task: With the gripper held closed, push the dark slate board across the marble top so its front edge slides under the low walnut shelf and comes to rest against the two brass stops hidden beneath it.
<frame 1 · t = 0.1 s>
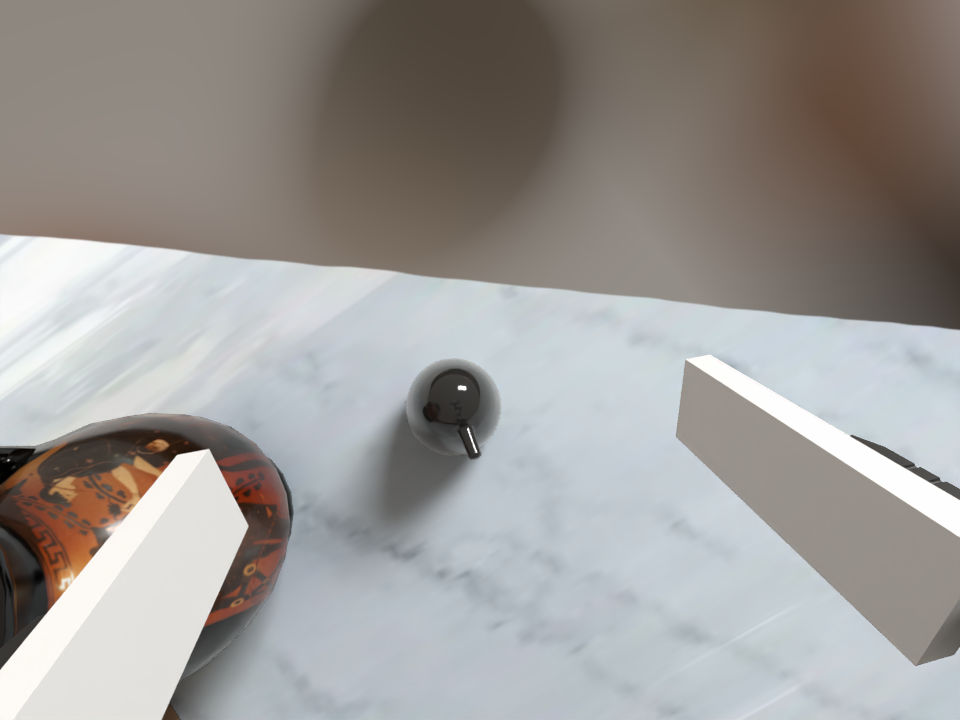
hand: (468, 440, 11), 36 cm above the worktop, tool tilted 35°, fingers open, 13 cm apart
amphora vase: (220, 518, 43), on the worktop
pump dispenser: (453, 410, 47), on the worktop
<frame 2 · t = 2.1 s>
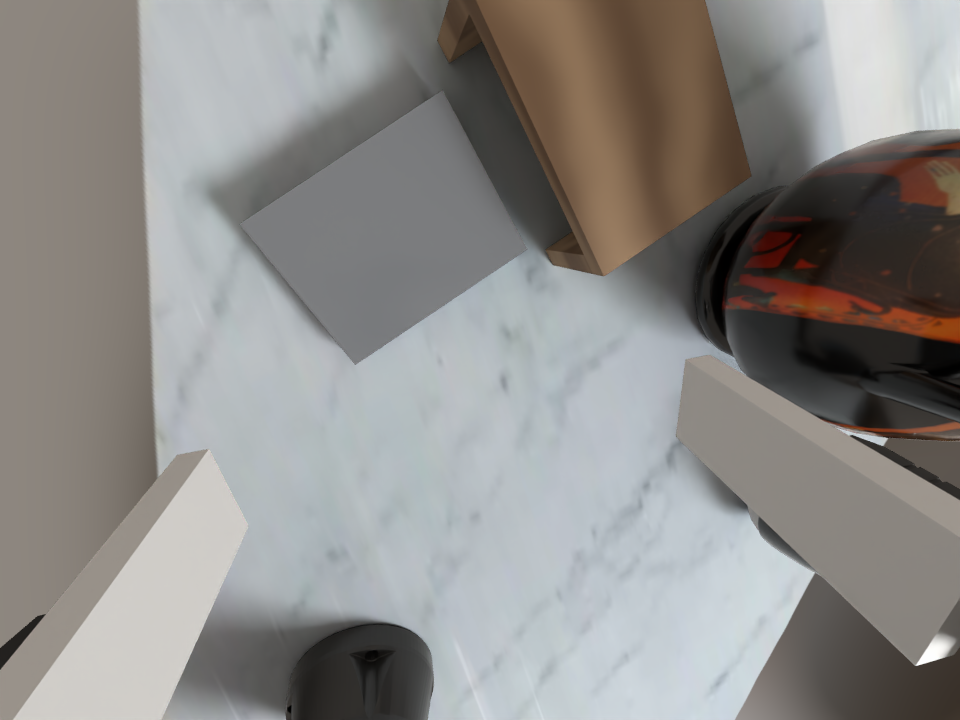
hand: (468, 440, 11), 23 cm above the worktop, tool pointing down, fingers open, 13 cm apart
amphora vase: (757, 276, 40), on the worktop
pump dispenser: (765, 488, 50), on the worktop
slate board: (394, 237, 31), on the worktop
walnut shelf: (565, 122, 31), on the worktop
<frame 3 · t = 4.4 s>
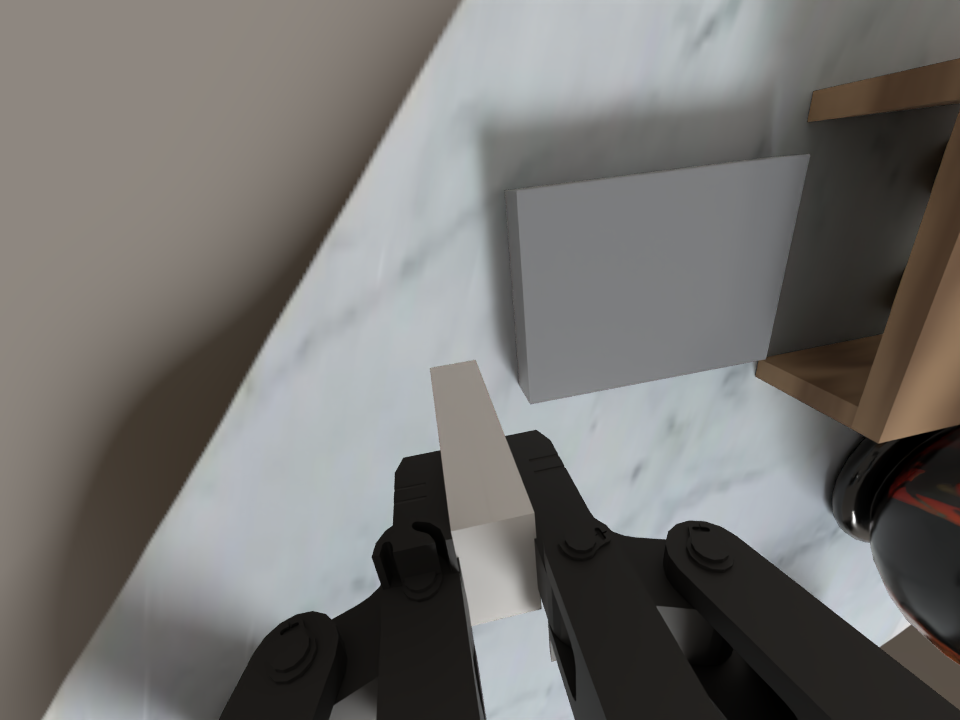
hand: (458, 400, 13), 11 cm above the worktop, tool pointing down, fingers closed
amphora vase: (899, 461, 37), on the worktop
slate board: (632, 276, 25), on the worktop
walnut shelf: (859, 241, 26), on the worktop
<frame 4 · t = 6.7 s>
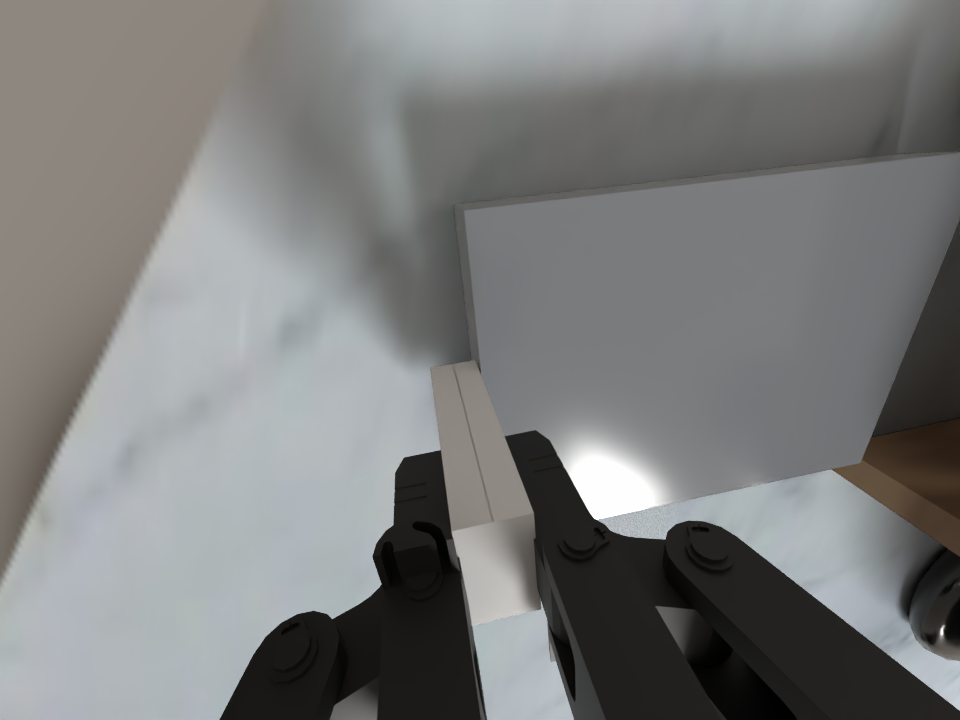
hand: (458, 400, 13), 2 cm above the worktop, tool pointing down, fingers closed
slate board: (662, 337, 16), on the worktop, touching gripper
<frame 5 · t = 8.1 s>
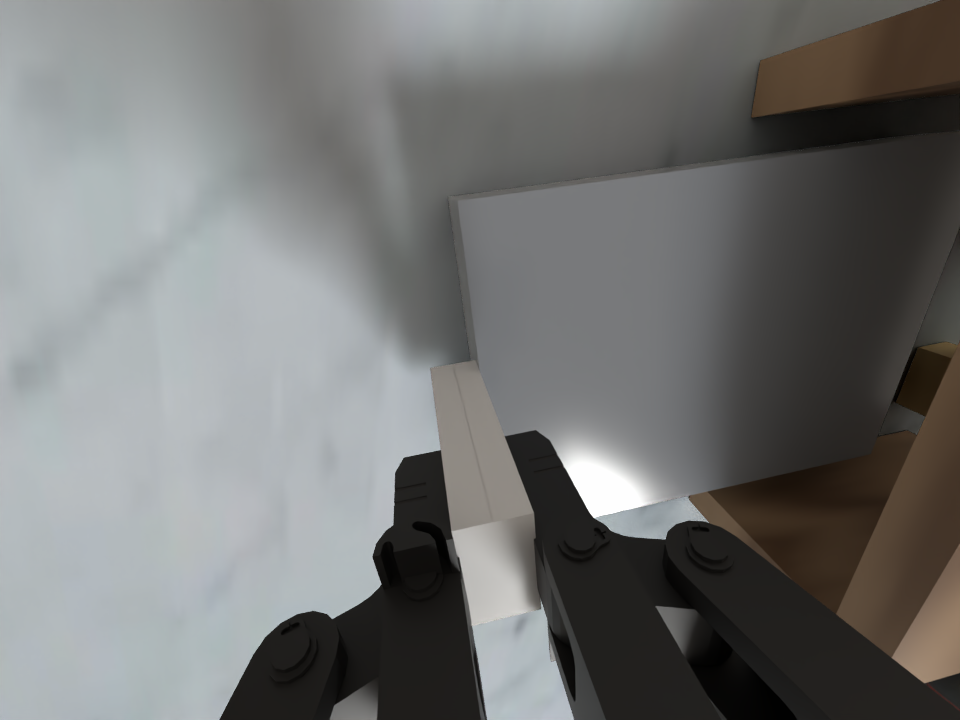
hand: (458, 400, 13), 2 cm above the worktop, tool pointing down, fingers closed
amphora vase: (903, 582, 28), on the worktop
slate board: (664, 329, 16), on the worktop
walnut shelf: (847, 310, 17), on the worktop
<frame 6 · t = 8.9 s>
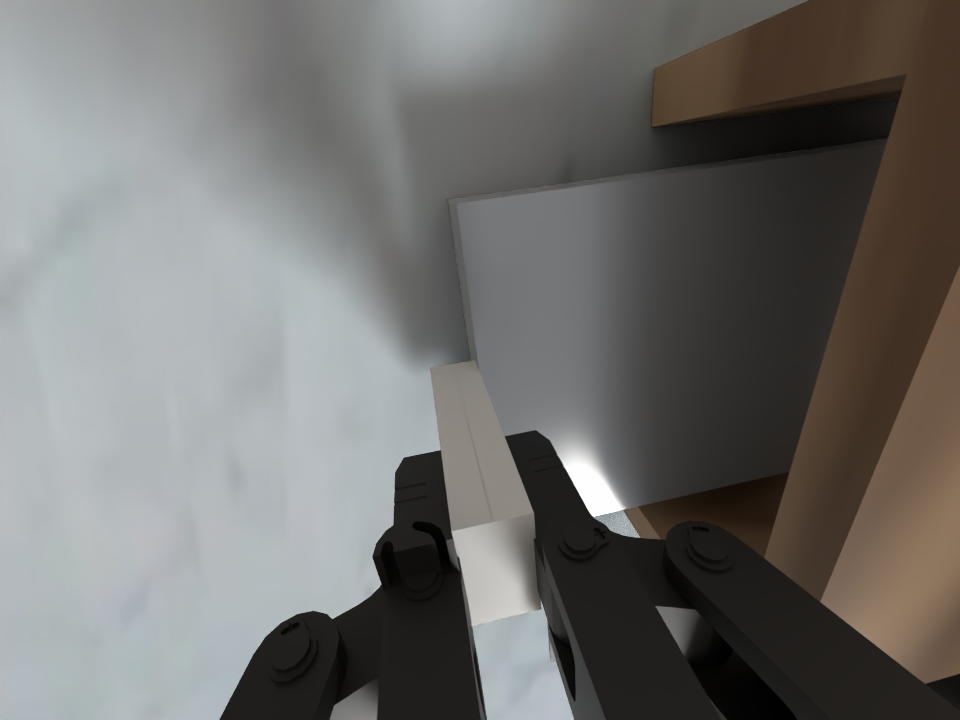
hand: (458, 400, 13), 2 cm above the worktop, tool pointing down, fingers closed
amphora vase: (861, 593, 27), on the worktop
slate board: (663, 329, 16), on the worktop, touching gripper
walnut shelf: (774, 322, 16), on the worktop
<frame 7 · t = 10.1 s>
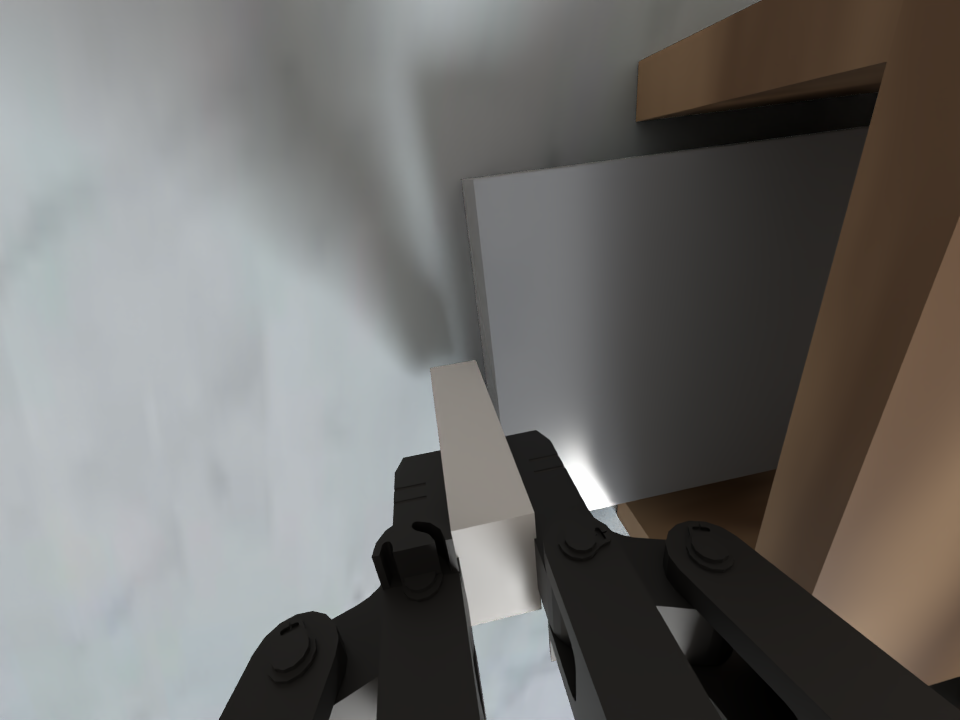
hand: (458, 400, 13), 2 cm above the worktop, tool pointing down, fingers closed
amphora vase: (859, 593, 27), on the worktop
slate board: (677, 317, 16), on the worktop
walnut shelf: (766, 320, 16), on the worktop
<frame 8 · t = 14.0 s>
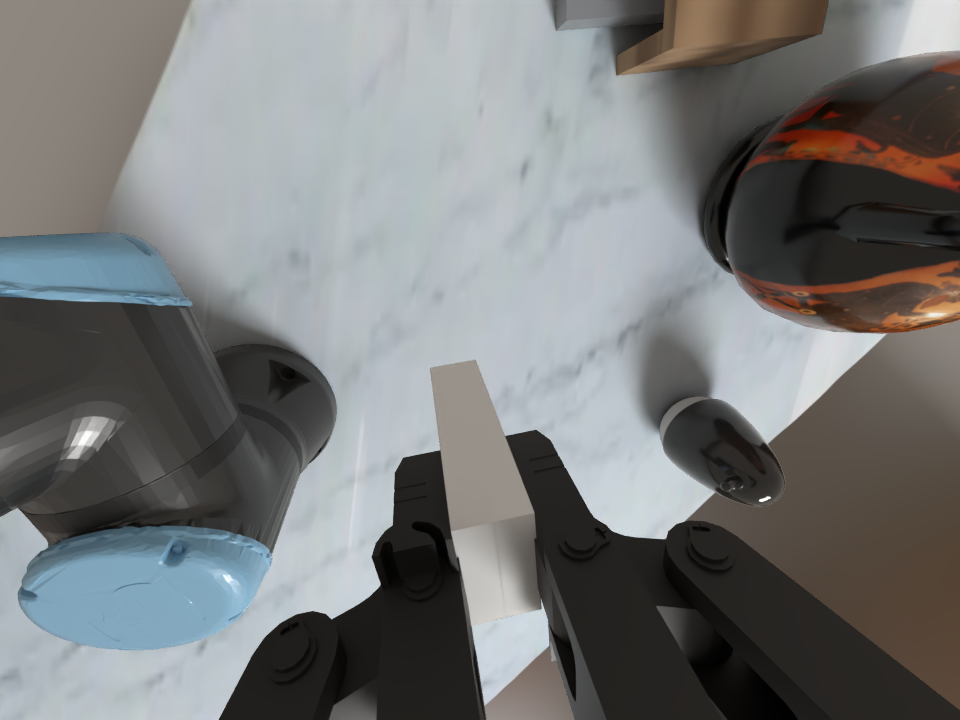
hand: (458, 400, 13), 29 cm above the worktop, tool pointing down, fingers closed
amphora vase: (764, 201, 44), on the worktop
pump dispenser: (680, 416, 55), on the worktop
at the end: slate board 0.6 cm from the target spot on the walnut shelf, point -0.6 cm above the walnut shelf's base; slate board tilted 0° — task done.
